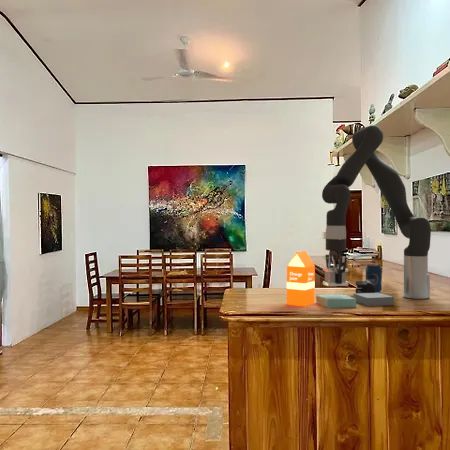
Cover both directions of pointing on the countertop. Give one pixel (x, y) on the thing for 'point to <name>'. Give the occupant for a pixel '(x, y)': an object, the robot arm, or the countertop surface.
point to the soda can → (374, 276)
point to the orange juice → (300, 280)
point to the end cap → (365, 287)
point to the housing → (333, 277)
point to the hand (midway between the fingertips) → (335, 282)
